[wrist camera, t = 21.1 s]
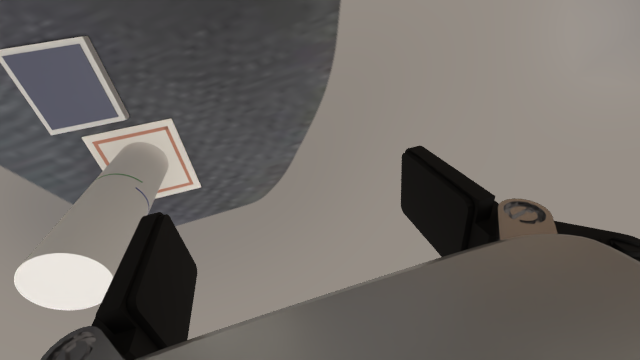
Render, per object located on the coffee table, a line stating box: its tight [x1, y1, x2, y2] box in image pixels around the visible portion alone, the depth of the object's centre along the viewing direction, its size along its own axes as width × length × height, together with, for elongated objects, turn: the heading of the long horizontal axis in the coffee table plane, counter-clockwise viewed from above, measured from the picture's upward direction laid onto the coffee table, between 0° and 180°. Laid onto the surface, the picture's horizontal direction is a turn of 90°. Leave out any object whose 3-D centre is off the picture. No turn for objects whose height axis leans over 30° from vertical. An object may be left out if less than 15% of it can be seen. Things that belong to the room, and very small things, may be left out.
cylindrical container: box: [14, 142, 169, 310], centre depth 35 cm, size 7×7×25 cm
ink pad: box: [0, 36, 130, 135], centre depth 38 cm, size 11×10×2 cm
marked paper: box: [81, 118, 201, 199], centre depth 46 cm, size 13×13×1 cm
